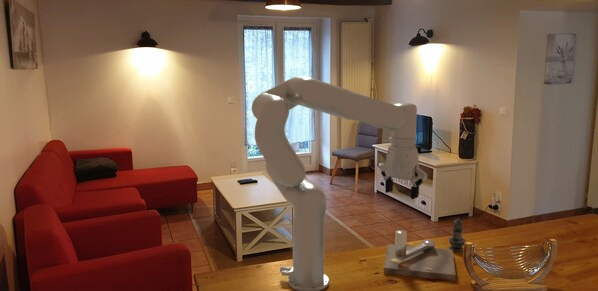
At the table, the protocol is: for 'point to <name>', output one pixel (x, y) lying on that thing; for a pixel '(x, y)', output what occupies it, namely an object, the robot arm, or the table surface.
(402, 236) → the lever
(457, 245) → the dark grey tower figurine
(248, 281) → the table surface
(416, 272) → the lever board
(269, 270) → the table surface
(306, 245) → the robot arm
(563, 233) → the table surface
